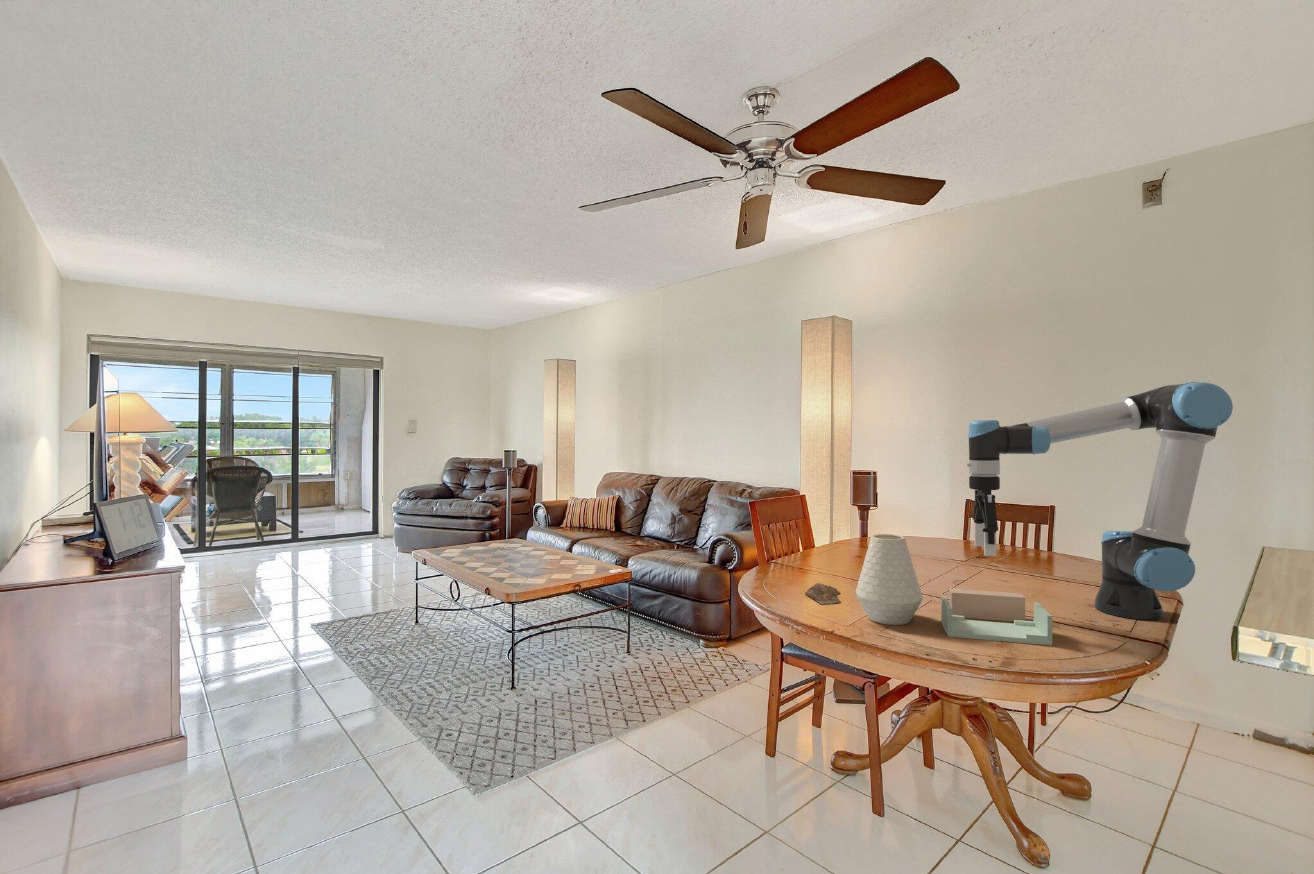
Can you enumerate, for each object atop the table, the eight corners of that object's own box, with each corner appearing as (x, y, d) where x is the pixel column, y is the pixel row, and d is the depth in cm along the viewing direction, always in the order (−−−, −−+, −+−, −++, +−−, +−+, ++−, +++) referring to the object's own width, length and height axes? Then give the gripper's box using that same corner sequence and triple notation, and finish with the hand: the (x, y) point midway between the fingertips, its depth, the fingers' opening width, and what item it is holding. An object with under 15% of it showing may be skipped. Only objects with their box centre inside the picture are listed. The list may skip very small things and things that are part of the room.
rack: (1038, 630, 154) (1038, 602, 154) (1052, 645, 143) (1052, 616, 143) (941, 622, 161) (941, 596, 161) (947, 636, 150) (947, 608, 150)
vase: (876, 631, 155) (875, 544, 154) (844, 611, 172) (844, 532, 172) (936, 626, 157) (935, 541, 157) (899, 607, 175) (899, 530, 174)
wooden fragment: (841, 607, 176) (841, 603, 176) (804, 605, 179) (803, 601, 179) (838, 585, 201) (838, 582, 201) (805, 583, 204) (805, 580, 204)
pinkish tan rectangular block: (1020, 618, 164) (1020, 593, 164) (1025, 623, 160) (1025, 597, 160) (949, 612, 170) (949, 588, 170) (951, 617, 166) (951, 592, 166)
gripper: (961, 471, 178) (962, 541, 178) (978, 478, 154) (979, 559, 154) (989, 472, 175) (990, 543, 175) (1010, 479, 152) (1011, 561, 152)
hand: (985, 551), depth 165 cm, fingers open, 13 cm apart
